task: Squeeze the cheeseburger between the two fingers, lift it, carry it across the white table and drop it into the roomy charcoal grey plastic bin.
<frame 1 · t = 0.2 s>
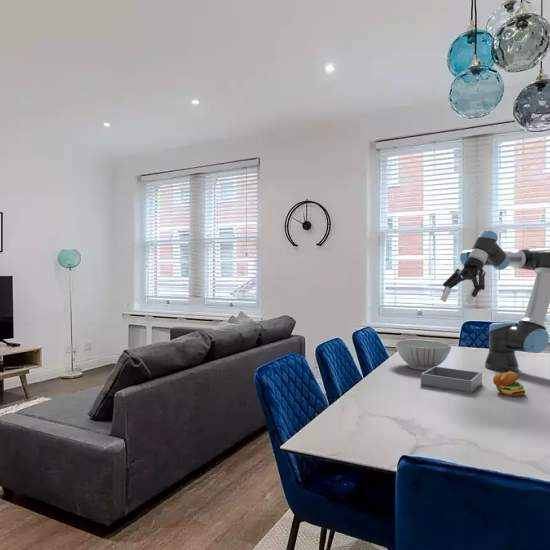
hand: (455, 301, 190), 35 cm above the table, fingers open, 13 cm apart
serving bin: (451, 384, 188), on the table
cheeseburger: (509, 394, 175), on the table
decorative bowl: (422, 367, 223), on the table
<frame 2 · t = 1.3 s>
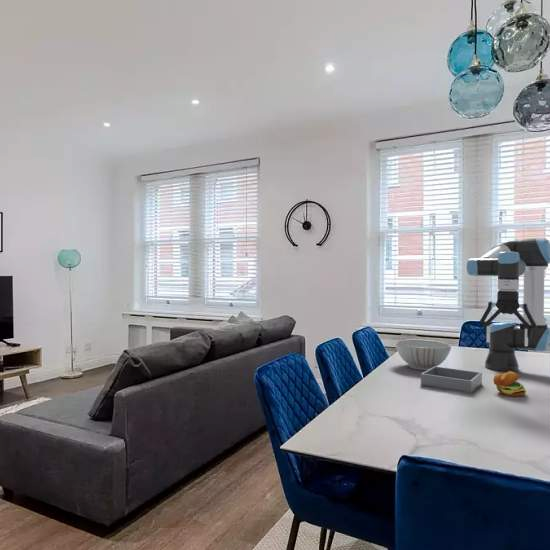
hand: (506, 344, 176), 20 cm above the table, fingers open, 13 cm apart
nothing on the table moved.
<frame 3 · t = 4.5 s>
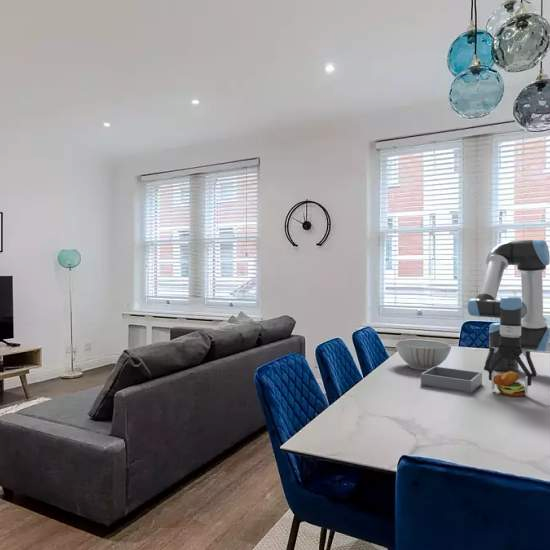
hand: (509, 391, 175), 1 cm above the table, fingers closed on cheeseburger, 11 cm apart
cheeseburger: (510, 394, 175), on the table, touching gripper
everything else where it was.
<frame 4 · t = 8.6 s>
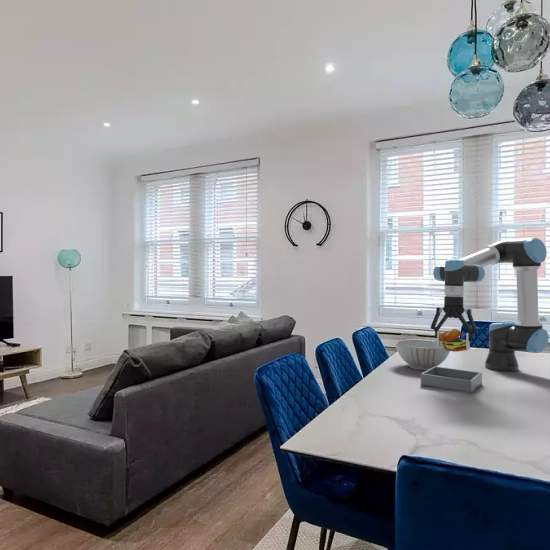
hand: (453, 347, 188), 16 cm above the table, fingers closed on cheeseburger, 11 cm apart
cheeseburger: (453, 350, 188), point 15 cm above the table, touching gripper
everything else where it was.
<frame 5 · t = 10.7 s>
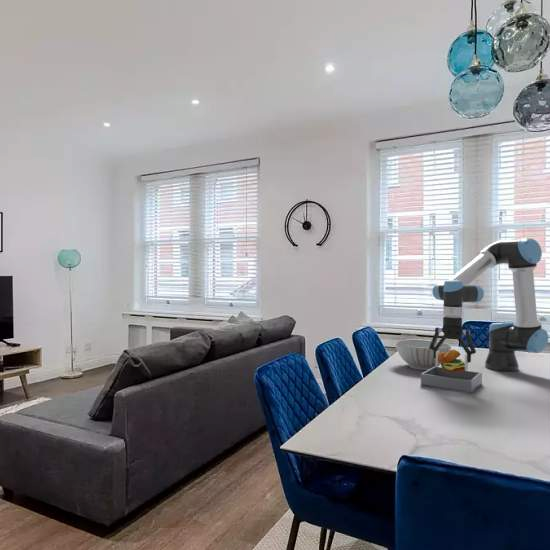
hand: (451, 368, 188), 7 cm above the table, fingers closed on cheeseburger, 11 cm apart
cheeseburger: (452, 371, 188), point 6 cm above the table, touching gripper
everything else where it was.
when the fingers open (3 cm above the table, at t = 12.8 s): cheeseburger drops 1 cm, resting on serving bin.
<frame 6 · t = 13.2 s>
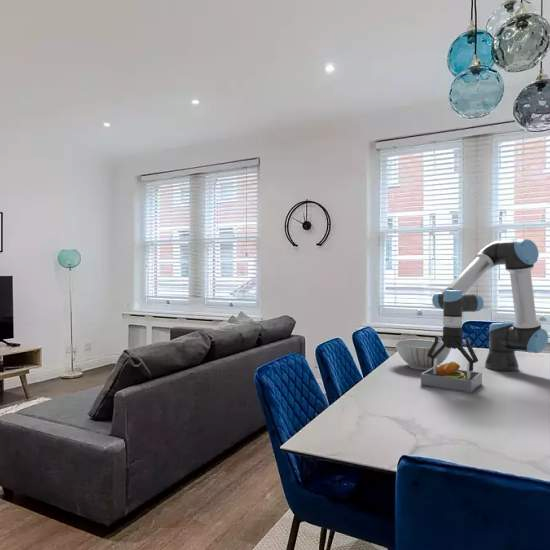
hand: (451, 376, 188), 4 cm above the table, fingers open, 13 cm apart
cheeseburger: (451, 383, 188), point 1 cm above the table, touching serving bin
everything else where it was.
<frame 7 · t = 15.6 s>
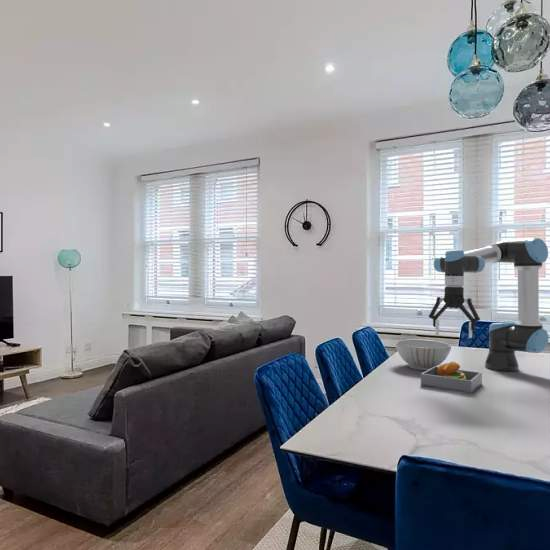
hand: (453, 336, 188), 21 cm above the table, fingers open, 13 cm apart
nothing on the table moved.
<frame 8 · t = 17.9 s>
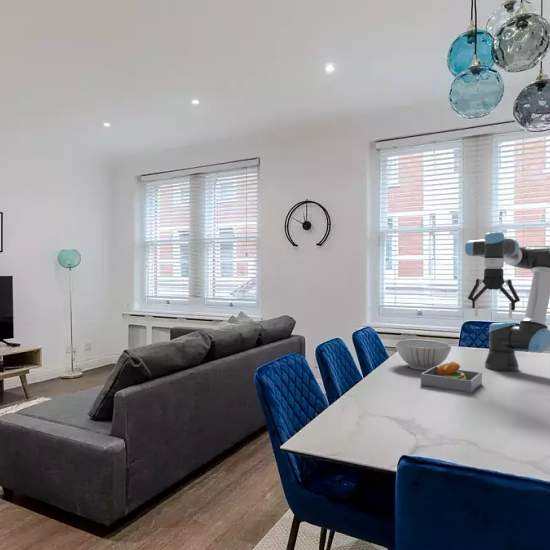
hand: (492, 317, 193), 29 cm above the table, fingers open, 13 cm apart
nothing on the table moved.
at the end: cheeseburger inside the target area on the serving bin (0.4 cm from its centre), point 0.6 cm above the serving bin's base; the gripper is holding nothing; cheeseburger touching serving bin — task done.
